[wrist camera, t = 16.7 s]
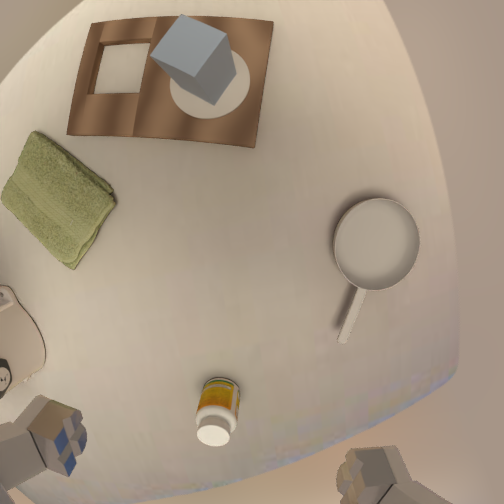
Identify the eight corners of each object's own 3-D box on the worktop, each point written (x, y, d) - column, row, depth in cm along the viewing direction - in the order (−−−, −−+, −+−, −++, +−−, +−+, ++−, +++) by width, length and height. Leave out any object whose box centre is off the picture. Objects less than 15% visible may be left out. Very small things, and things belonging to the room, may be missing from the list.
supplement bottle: (247, 395, 43) (244, 442, 34) (218, 409, 44) (210, 454, 35) (225, 370, 42) (217, 415, 33) (195, 385, 43) (182, 430, 34)
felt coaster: (165, 116, 33) (163, 115, 33) (178, 46, 31) (177, 44, 30) (243, 123, 33) (243, 122, 33) (255, 51, 31) (255, 49, 31)
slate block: (214, 106, 32) (194, 77, 22) (181, 88, 32) (149, 55, 21) (236, 73, 31) (226, 33, 21) (203, 56, 31) (181, 14, 20)
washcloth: (79, 272, 40) (68, 279, 37) (6, 198, 38) (-7, 201, 35) (126, 195, 37) (115, 197, 34) (43, 124, 35) (30, 122, 32)
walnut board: (72, 135, 35) (66, 134, 34) (96, 27, 31) (91, 23, 30) (254, 148, 35) (254, 146, 34) (273, 27, 32) (273, 21, 30)
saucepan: (418, 213, 37) (433, 217, 33) (369, 338, 41) (377, 352, 37) (344, 183, 36) (353, 184, 32) (296, 320, 40) (299, 334, 37)
